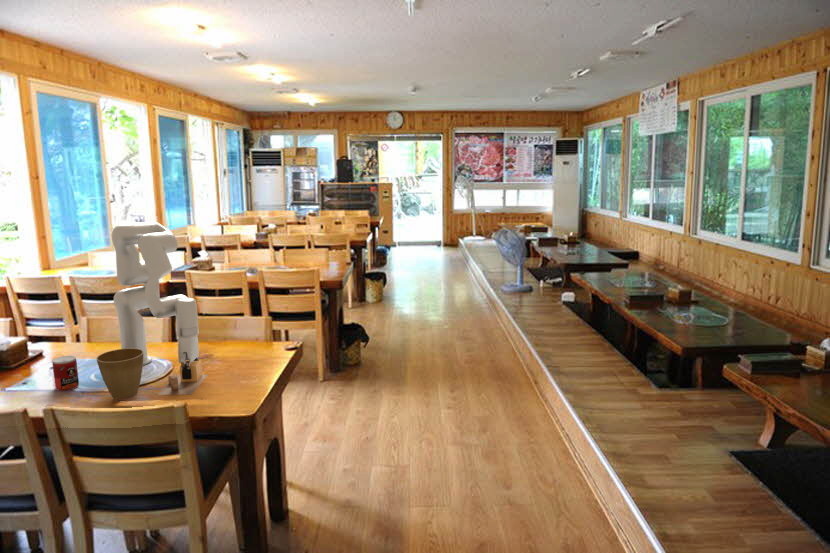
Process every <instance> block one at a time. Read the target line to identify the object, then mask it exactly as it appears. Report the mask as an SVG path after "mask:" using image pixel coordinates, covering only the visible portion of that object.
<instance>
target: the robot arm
mask: <svg viewBox="0 0 830 553" xmlns="http://www.w3.org/2000/svg"><path fill="white" fill-rule="evenodd" d="M176 237H177V236H175V235H174V233H173V232H172V231H171V230H169V229H168V228H166V227H165V226H163V225H162V224H160V223H159V222H157V221H143V222H130V223H121V224H118V225H116V226H115V227H114V228H113V229H112V232H111V240H112V241H111V242H112V245H113V247H114V251H115V260H116V261H115V263H116V264H115V265H116V278H117V282H118V284H119V285H120V286H124V287H128V288H122V289H121V290H118V291H116V292H115V294H114V296H113V303H114V307H115V310H116V314H117V318H118V327H119V328H118V330H119V338H120V347H121V348H120V349H125V348H136V349H141V350H143V366H144V365H147V364H149V363H151V362H152V361H153V359H152V358H153V357H152V356H151V355H148V348H147V339H146V338H147V337H146V336H147V335H146V326H145V319H144V318H143V316H142V315H141V314H140V313H139V312H138V311H140V310H144V309H148V308H149V311H150V312H151V314H152V315H153V317H154V318H156V319H165V318H170V317H173V316H175V322H176V334H177V337H178V340H177V341H178V342H177V347H178V348H177V354H178V356H177V357H178V362H179V364H180V366H181V369H182V379H191V378H192V376H191V369H190V364H191V362H193V361H200V357H199V354H200V353H199V352H200V347H199V338H198V335H199V334H200V333H199V321H198V319H199V318H198V306H197V305H198V304H197V300H196V299H195V298H193V297H188V296H187V295H184V294H174V295H169V296H164V297H160V280H161V279H163V278H164V277H166V276H168V275H169V274H170V273H171V272H172V270H173V266H172V264H171V261H170V259H169V256H168V254H170V253H173V252H176V251H177V249H178V247H179V246H178V239H177V238H176ZM136 245H137V246H138V247H137V246H136ZM140 254H141V257H142V260H140ZM137 285H140V286H137ZM131 286H133V287H131ZM185 363H188V366H187V364H185Z"/></svg>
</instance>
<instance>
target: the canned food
mask: <svg viewBox="0 0 830 553" xmlns="http://www.w3.org/2000/svg"><path fill="white" fill-rule="evenodd" d="M51 362H52V364H51V365H52V371H53V378H54V387H55V389H56V390H58V391H60V392H61V391H64V392H65V391H70V389H71V390H73V389H72V388H74V389H76V388H78V387H79V384H80V381H79V379H80V378H79V372H78V363H77V362H78V361H77V357H76V356H75V355H63V356H59V357H56V358H54V359H52V361H51ZM77 386H78V387H77ZM75 387H76V388H75Z"/></svg>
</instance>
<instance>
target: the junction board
mask: <svg viewBox="0 0 830 553" xmlns="http://www.w3.org/2000/svg"><path fill="white" fill-rule="evenodd" d="M207 377H208V374H202V376H201V377H200V379H199V380H198V381H185V382H181V376H180V374H178V375H177V374H176V375H175V374H170V375H168V376H167V380H168V383H167V384H165V385H166V386H164V387H163V388H162V389H161V390H160V392H158V394H157V396H179V395H180V396H182V395H184V396H185V395H193V393H194V392H195V391H196V390H197V389H198V387H199V386H200V385H201V384H202V382H204V381H205V379H206V378H207Z"/></svg>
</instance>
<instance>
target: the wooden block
mask: <svg viewBox="0 0 830 553" xmlns="http://www.w3.org/2000/svg"><path fill="white" fill-rule="evenodd" d="M185 364H187V366H188V363H185ZM190 369H191V376H192V378H191V379H182V369H181V365H180V366H179V375H180V376H181V382H185V381H198V380H199V379H200V377H201V376H202V375H203V371H202V360H199V361H193V362H191V364H190Z"/></svg>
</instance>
